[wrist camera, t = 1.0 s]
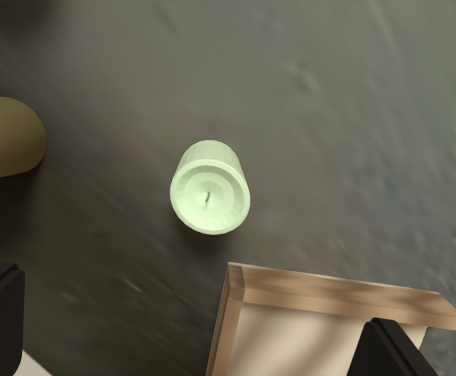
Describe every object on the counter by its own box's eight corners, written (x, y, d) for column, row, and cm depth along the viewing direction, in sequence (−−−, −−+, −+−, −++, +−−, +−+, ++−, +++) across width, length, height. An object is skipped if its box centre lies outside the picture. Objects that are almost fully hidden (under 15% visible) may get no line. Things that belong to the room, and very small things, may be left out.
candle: (184, 202, 30) (174, 245, 22) (174, 143, 28) (160, 167, 21) (243, 195, 30) (254, 235, 22) (236, 136, 28) (245, 156, 21)
